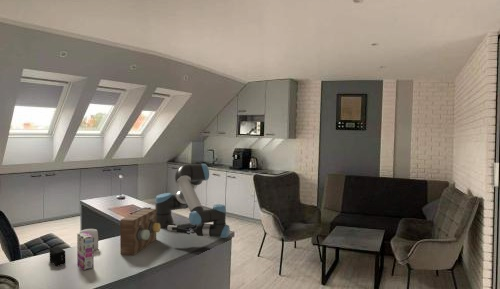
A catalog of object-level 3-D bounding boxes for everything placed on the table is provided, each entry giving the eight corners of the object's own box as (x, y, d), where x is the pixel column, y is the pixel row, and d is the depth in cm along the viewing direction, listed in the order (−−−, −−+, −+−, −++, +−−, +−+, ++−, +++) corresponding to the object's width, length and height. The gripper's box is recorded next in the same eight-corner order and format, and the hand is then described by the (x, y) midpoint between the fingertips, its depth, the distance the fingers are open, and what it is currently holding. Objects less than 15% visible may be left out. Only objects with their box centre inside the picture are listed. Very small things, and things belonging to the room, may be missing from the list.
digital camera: (47, 261, 170) (46, 248, 170) (58, 258, 174) (58, 246, 174) (53, 267, 163) (53, 253, 163) (65, 263, 167) (65, 250, 167)
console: (145, 238, 208) (144, 208, 208) (158, 239, 206) (158, 209, 206) (120, 254, 181) (120, 219, 180) (135, 255, 179) (135, 220, 178)
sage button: (145, 237, 188) (145, 228, 188) (149, 237, 188) (149, 228, 188) (140, 240, 183) (140, 231, 183) (145, 241, 182) (145, 231, 182)
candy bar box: (94, 267, 162) (94, 236, 162) (83, 270, 159) (83, 238, 158) (87, 261, 170) (86, 231, 170) (76, 264, 167) (76, 233, 166)
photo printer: (78, 251, 184) (78, 230, 184) (80, 249, 189) (80, 228, 188) (97, 250, 187) (97, 229, 186) (99, 247, 191) (98, 227, 191)
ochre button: (156, 230, 202) (156, 221, 202) (160, 230, 202) (160, 222, 201) (151, 233, 197) (151, 224, 196) (156, 233, 196) (156, 224, 196)
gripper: (200, 239, 187) (163, 236, 191) (207, 232, 200) (172, 230, 204) (200, 226, 187) (163, 224, 191) (207, 221, 199) (172, 219, 204)
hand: (168, 227), depth 197 cm, fingers closed
